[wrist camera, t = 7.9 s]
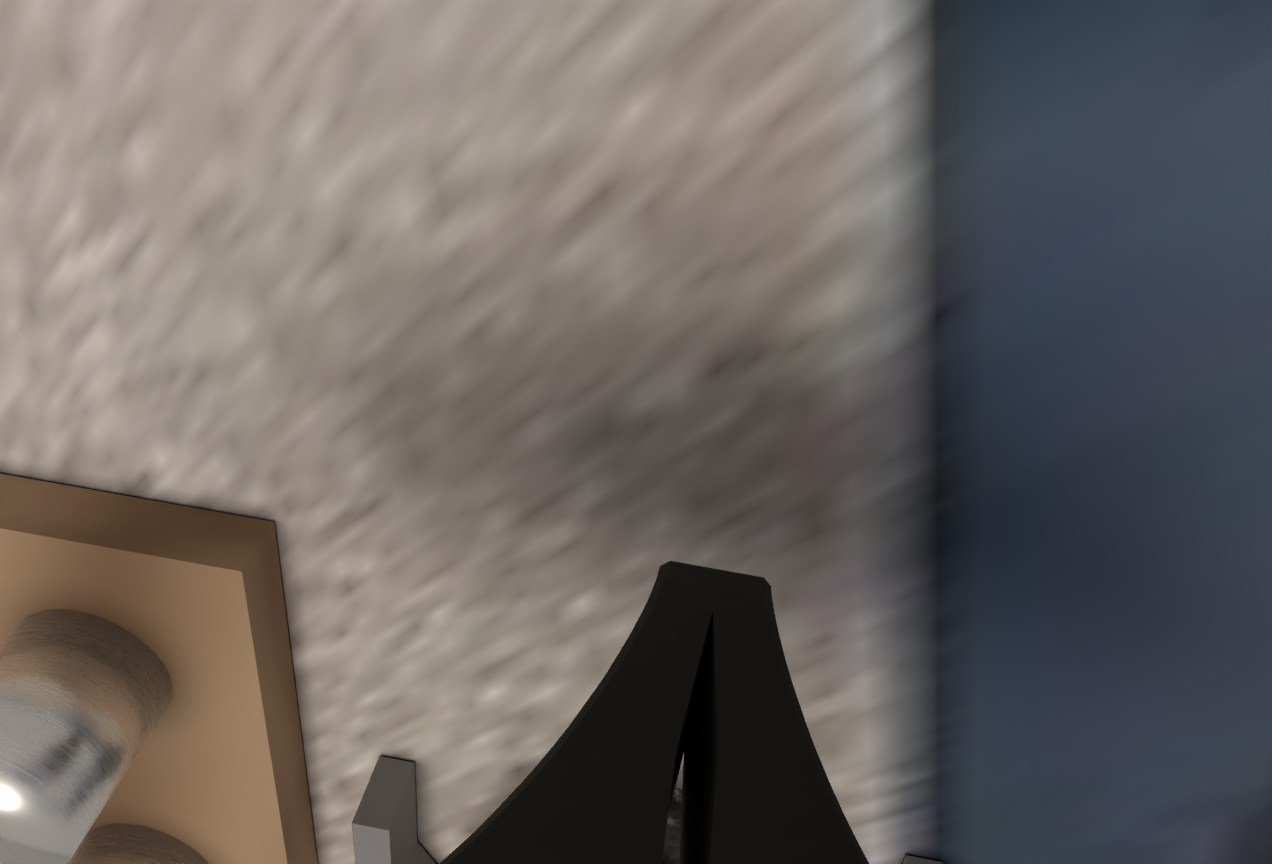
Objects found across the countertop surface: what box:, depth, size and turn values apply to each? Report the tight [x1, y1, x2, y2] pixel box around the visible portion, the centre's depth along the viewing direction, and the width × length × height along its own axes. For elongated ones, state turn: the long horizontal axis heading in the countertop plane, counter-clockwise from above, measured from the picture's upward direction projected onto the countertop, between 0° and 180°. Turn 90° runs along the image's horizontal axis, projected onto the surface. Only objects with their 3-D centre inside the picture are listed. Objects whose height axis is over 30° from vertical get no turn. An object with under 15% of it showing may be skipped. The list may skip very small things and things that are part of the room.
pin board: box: [0, 474, 318, 864], centre depth 19 cm, size 6×12×4 cm, turn 174°
